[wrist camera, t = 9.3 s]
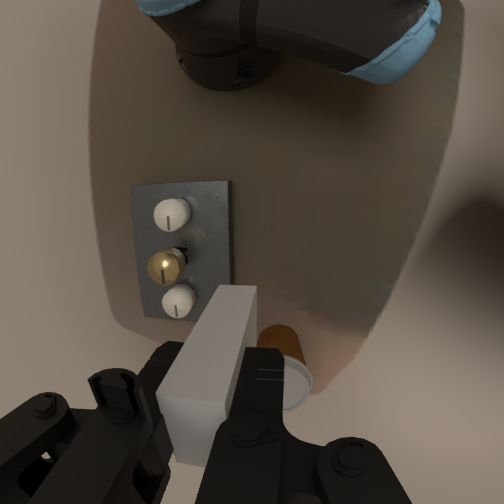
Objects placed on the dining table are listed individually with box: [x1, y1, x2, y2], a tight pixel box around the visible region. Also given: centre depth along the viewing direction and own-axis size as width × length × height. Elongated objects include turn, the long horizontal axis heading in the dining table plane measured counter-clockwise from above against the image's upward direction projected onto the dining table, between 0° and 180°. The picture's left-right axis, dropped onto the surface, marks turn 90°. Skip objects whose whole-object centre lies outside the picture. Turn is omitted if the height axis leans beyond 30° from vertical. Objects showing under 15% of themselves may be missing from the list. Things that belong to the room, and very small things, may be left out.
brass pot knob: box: [147, 247, 186, 285], centre depth 37 cm, size 4×4×6 cm
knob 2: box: [162, 283, 196, 318], centre depth 41 cm, size 4×4×6 cm
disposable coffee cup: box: [256, 325, 313, 413], centre depth 39 cm, size 10×10×12 cm
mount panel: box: [131, 181, 234, 321], centre depth 41 cm, size 20×14×3 cm
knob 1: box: [154, 198, 191, 232], centre depth 38 cm, size 4×4×6 cm
